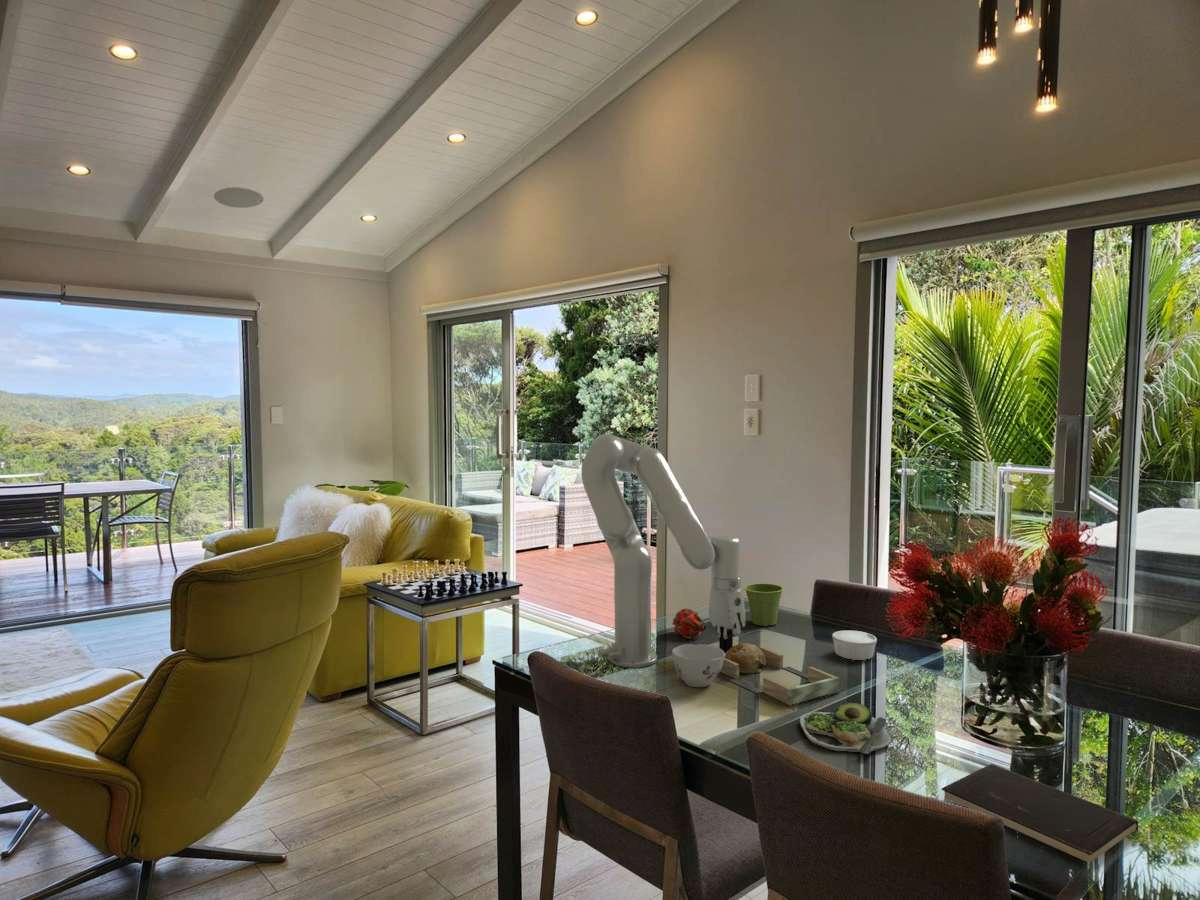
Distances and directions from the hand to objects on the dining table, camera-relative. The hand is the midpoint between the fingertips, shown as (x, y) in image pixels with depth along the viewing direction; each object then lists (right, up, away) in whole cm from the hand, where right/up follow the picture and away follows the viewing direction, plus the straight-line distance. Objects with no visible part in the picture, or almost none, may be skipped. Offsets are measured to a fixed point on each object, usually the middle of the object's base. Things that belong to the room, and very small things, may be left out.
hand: (726, 651), depth 201 cm
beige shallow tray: (+9, -3, -16) cm, 19 cm away
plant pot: (+17, 0, +32) cm, 36 cm away
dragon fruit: (-7, -1, +20) cm, 21 cm away
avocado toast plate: (+16, -5, -47) cm, 50 cm away
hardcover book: (+37, -6, -77) cm, 86 cm away
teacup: (-10, -3, -17) cm, 20 cm away
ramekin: (+34, -2, +2) cm, 34 cm away
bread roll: (+3, -2, -7) cm, 8 cm away
